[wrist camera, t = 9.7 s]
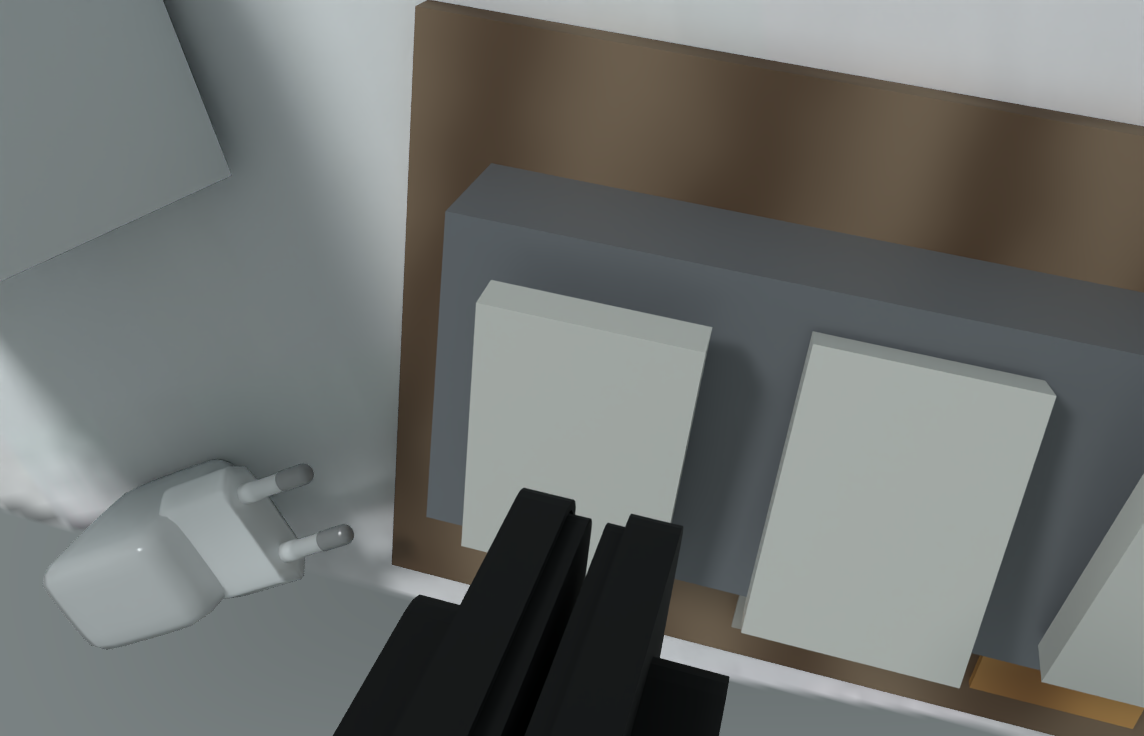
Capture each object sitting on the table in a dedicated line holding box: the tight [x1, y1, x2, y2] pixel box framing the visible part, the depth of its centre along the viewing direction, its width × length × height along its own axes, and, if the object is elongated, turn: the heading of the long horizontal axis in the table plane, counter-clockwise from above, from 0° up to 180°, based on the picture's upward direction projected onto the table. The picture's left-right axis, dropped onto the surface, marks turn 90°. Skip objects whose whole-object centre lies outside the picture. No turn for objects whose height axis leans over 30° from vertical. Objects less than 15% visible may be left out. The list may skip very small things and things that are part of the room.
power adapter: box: [43, 459, 354, 650], centre depth 38 cm, size 11×5×6 cm, turn 117°
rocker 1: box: [461, 280, 712, 574], centre depth 28 cm, size 6×8×1 cm
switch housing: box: [426, 163, 1144, 670], centre depth 30 cm, size 25×10×5 cm, turn 83°
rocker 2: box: [741, 331, 1056, 688], centre depth 27 cm, size 6×8×1 cm
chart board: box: [392, 0, 1144, 736], centre depth 32 cm, size 30×20×1 cm, turn 83°
